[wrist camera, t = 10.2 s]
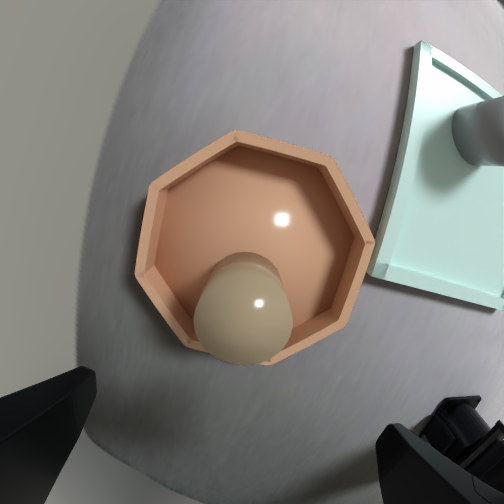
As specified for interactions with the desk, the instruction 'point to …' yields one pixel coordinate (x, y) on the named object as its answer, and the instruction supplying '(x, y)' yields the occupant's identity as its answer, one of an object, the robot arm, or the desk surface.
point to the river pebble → (243, 311)
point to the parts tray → (442, 194)
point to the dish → (255, 232)
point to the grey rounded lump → (480, 132)
